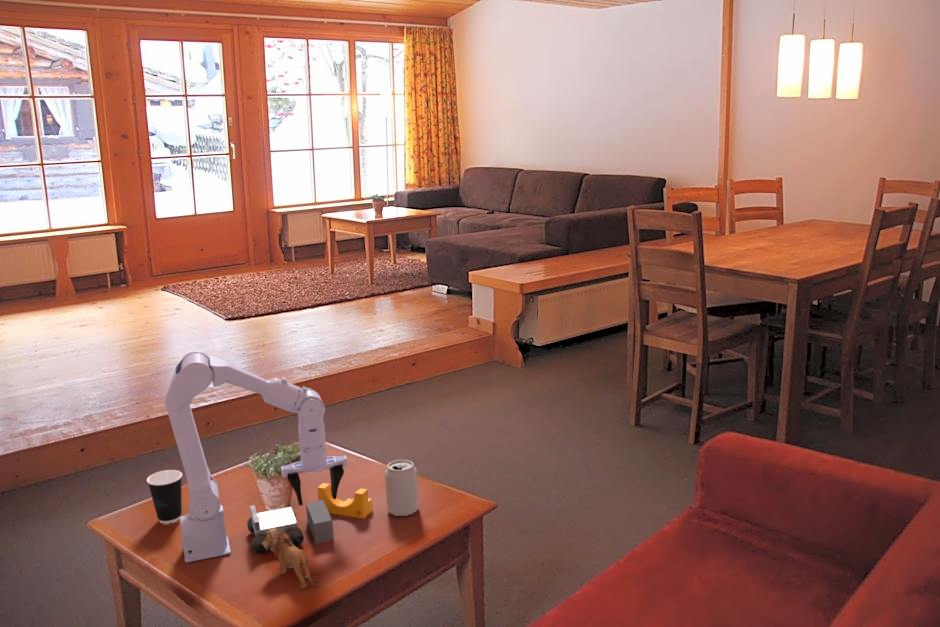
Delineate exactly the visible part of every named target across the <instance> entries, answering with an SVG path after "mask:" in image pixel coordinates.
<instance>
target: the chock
mask: <svg viewBox="0 0 940 627" xmlns="http://www.w3.org/2000/svg"><path fill="white" fill-rule="evenodd" d="M305 508H306V521H307V525H308V527H309V529H311V530H310V533H311V534H312V537H313V539H314V542H315V544H316V543H317V544H321V543H320V542H322V543H326V542H325V541H327V542H330V541H329V540H331V541H334V539H335V537H334V525H333V519H332V516H331V515H330V513H329V512H328V510H327V508H326V505H325V503H324V501H323V500H315V501H309V502H306V503H305Z"/></svg>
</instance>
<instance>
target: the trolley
mask: <svg viewBox="0 0 940 627" xmlns="http://www.w3.org/2000/svg"><path fill="white" fill-rule="evenodd" d="M292 508H293V507H292V506H288V507H283V508H281V507H280V508H276V509H272V510H267V511H261V512H257V509H256V506H255V504H253V505H250V506H249V509H250V517H249V518H248V519H247V522H246V523H247V524H246V526H247V529H248V531H249V532H250V533H251V534H254V535H255V536H254V538H253V539H252V542H251V546H252V549H253V552H255V553H256V554H258V555H264V554H266V553H268V552H269V551H271V549H270V548H269V549H267V550H266V549H265V547H264V546H263V545H262V542H263V541H264V540H265V539H266V537H267V536H268V534H269V531H268V530H270V529H274V528H275V529H280V530H282V531H283V532H284V533H286V535H288V536H289V538H290V539H291V540H292V543H293V545H294V546H296V547H297V548H298V547H299V546H301V545H302V544H303V543H304V539H305V536H304V533H303V531H302V529H300V528H298V527H299V526H298V521H297V515H296V513H295V511H294V510H293V509H292Z"/></svg>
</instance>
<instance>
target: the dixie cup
mask: <svg viewBox="0 0 940 627" xmlns="http://www.w3.org/2000/svg"><path fill="white" fill-rule="evenodd" d="M182 478H183V472H182V471H180V470H176V469H166V470H160V471H157V472H154V473H152V474H150V475H149V476H148V477H147V478H146V483H147V484H148V487H149V490H150V491H149V492H150V495H151V499H152V501H153V506H154V508H155V514H156V517H157V519H158V522H159V523H160V524H161V523H163V524H162V525H170V524H169V523H173V524H175V523H174V522H176V521H177V520H179V519H180V517H182V516H181V515H182V512H183V511H182ZM179 521H180V520H179ZM176 523H177V522H176Z"/></svg>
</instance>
